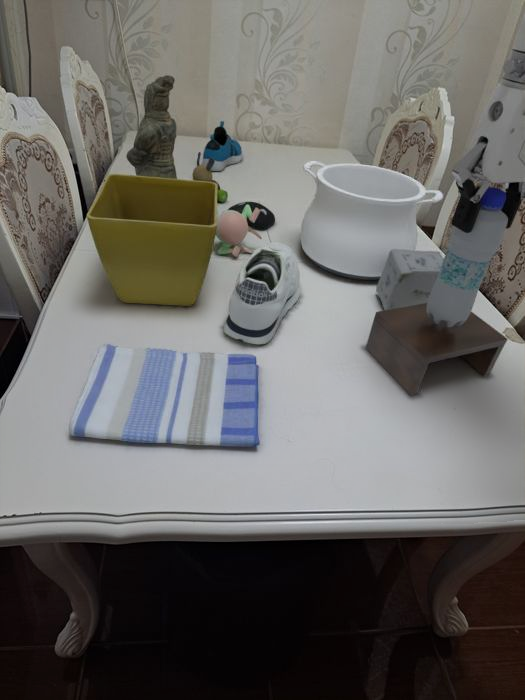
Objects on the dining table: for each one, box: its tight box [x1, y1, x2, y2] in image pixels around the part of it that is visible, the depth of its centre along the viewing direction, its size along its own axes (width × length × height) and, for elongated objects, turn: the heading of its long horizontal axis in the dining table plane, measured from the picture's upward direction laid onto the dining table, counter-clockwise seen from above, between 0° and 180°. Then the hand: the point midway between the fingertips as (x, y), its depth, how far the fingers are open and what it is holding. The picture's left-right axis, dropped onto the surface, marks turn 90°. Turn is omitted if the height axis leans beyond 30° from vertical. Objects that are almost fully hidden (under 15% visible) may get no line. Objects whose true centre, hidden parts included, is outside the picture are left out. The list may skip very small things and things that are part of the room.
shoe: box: [201, 120, 243, 172], centre depth 148 cm, size 9×23×12 cm, turn 164°
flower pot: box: [86, 173, 218, 307], centre depth 84 cm, size 19×19×17 cm
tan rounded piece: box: [192, 151, 229, 203], centre depth 122 cm, size 9×9×11 cm
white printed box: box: [375, 249, 444, 311], centre depth 89 cm, size 10×8×10 cm
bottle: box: [426, 186, 508, 327], centre depth 68 cm, size 7×7×20 cm
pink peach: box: [215, 204, 262, 258], centre depth 102 cm, size 12×10×9 cm
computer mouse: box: [227, 201, 276, 231], centre depth 116 cm, size 8×12×4 cm, turn 62°
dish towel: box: [68, 343, 260, 447], centre depth 65 cm, size 17×24×3 cm
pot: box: [299, 160, 444, 281], centre depth 101 cm, size 28×24×17 cm
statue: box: [125, 74, 178, 179], centre depth 102 cm, size 11×9×30 cm
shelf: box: [365, 303, 508, 397], centre depth 77 cm, size 12×16×7 cm
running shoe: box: [223, 241, 301, 345], centre depth 85 cm, size 11×29×12 cm, turn 170°
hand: (480, 225), depth 65 cm, fingers closed on bottle, 6 cm apart
